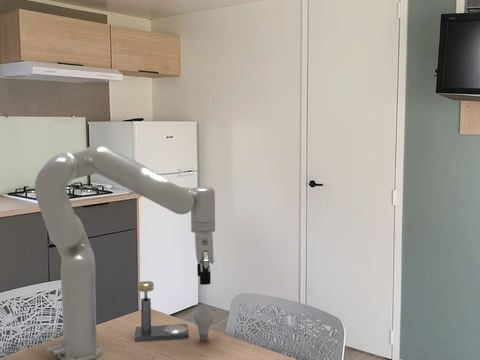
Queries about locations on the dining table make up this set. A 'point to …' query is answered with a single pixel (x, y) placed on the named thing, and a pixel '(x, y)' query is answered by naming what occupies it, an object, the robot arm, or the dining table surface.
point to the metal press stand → (157, 327)
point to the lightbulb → (203, 321)
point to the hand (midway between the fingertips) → (203, 279)
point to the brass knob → (145, 287)
